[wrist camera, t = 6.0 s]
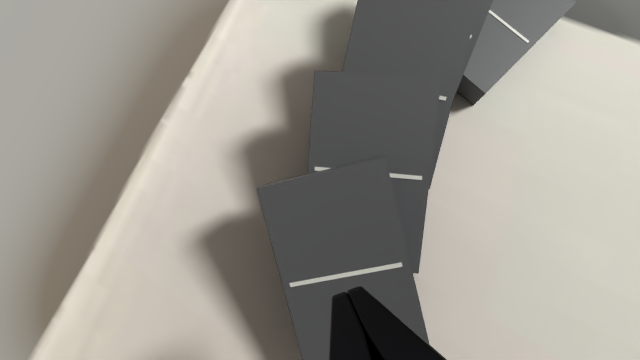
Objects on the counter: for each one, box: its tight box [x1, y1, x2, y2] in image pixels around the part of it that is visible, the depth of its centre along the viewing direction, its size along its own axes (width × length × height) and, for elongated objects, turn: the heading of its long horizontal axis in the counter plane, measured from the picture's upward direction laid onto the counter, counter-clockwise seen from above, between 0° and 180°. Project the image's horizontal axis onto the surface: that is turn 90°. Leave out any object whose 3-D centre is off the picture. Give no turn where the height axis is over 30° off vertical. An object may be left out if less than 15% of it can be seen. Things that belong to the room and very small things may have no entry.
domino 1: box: [342, 0, 478, 189], centre depth 16 cm, size 2×5×8 cm
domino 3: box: [257, 156, 429, 360], centre depth 14 cm, size 2×5×8 cm
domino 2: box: [307, 71, 442, 273], centre depth 15 cm, size 2×5×8 cm
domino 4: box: [457, 0, 576, 105], centre depth 19 cm, size 2×5×8 cm
